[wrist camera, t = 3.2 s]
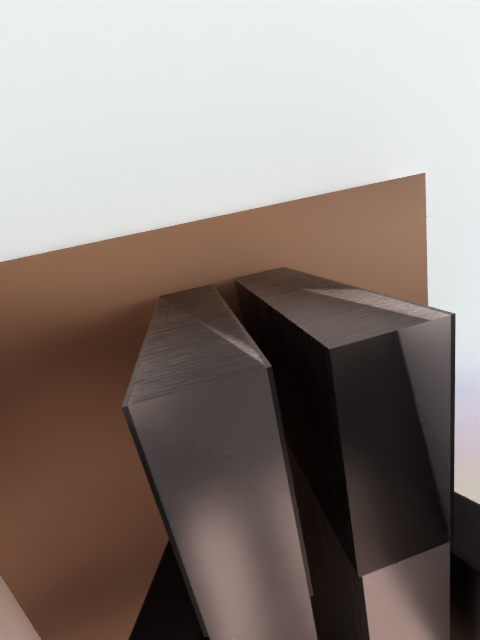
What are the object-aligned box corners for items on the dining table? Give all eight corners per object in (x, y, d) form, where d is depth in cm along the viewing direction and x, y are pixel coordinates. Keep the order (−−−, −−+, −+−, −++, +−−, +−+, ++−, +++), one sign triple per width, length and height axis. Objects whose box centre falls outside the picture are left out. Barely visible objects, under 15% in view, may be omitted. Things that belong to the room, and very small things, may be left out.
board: (416, 636, 16) (434, 666, 14) (145, 752, 14) (142, 798, 13) (394, 180, 9) (425, 172, 8) (-121, 289, 7) (-175, 299, 6)
